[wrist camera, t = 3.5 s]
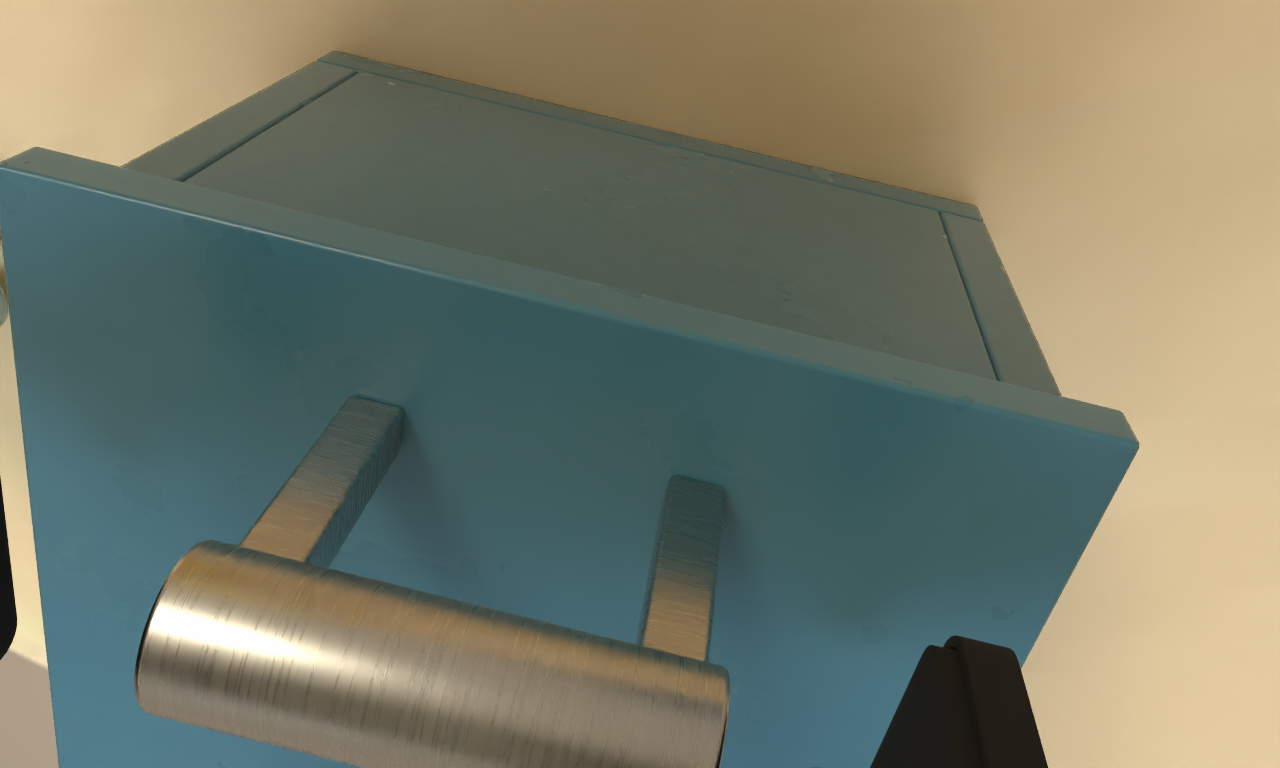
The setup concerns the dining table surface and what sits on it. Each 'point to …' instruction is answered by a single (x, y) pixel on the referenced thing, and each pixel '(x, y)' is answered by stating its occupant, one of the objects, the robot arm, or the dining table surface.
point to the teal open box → (621, 210)
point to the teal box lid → (490, 501)
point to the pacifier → (3, 306)
